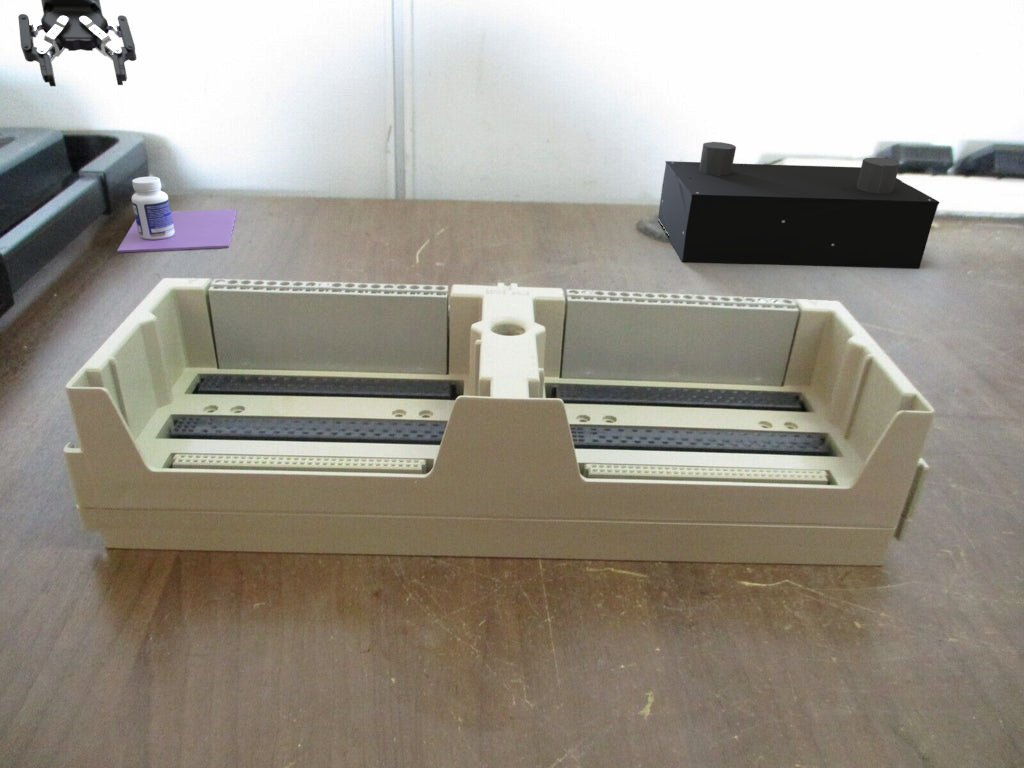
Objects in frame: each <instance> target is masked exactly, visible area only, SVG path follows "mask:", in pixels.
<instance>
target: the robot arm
mask: <svg viewBox="0 0 1024 768" xmlns="http://www.w3.org/2000/svg"><path fill="white" fill-rule="evenodd" d="M40 1H41V6H42V13H43V16H42V17H41V19H34V18H29V16H28V15H27V14H26V13H21V14H19V15H18V18H17V19H18V29H19V38H20V39H19V40H20V41H19V42H20V47H21V50H22V53H23V57H24V59H25V61H27V62H30V63H31V62H32V63H33V62H37V63H38V64H39V69H40V73H41V74H40V75H41V77H42V80H43V82H44V83H48V84H49V87H57V83H56V79H55V78H56V77H55V74H54V68H53V67H54V66H53V63H52V62H53V61H54V60H55V58H56V57H57V58H58V57H60V55H61V54H62V53H63V52H64V51H65V50H68V52H75V51H79V50H80V51H86V52H87V51H88V52H90V51H91V52H93V51H94V49H96V51H98V52H99V53H100V54H102V56H104V57H108V58H109V59H110V60H111V61H112V63H113V69H114V74H115V77H116V83H117V86H124V82H127V80H128V75H127V70H126V65H125V63H126V62H127V61H131V62H134V61H136V60H137V54H136V45H135V42H134V38H133V35H132V32H131V29H130V25H129V22H128V19H127V16H125V15H118V16H117V19H110V20H108V19H106V18H105V17H104V15H103V11H102V5H101V1H100V0H40ZM40 31H43V32H44V33H45V35H44V37H43V41H41V43H40V44H39V45H38V46H35V45H34V38H37V36H38V35H39V32H40ZM109 31H112V32H114V34H115V35H116V36H117V37H118V38H121V40H122V44H123V46H119V45H118V44H117V43H115V42H114V41H113V40H112V38H111V37H110V35H109Z"/></svg>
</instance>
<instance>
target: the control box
mask: <svg viewBox="0 0 1024 768" xmlns="http://www.w3.org/2000/svg"><path fill="white" fill-rule="evenodd" d="M701 149H702V150H701V156H700V161H699V162H698V161H673V160H671V161H670V160H665V168H664V173H663V179H662V186H661V192H660V193H661V194H660V201H659V208H658V214H657V215H658V216H657V219H658V218H659V219H660V221H661V223H662V224H663V226H664V227H665V229H666V231H667V232H668V234H669V238H670V239H669V238H668V239H669V241H670V244H671V246H672V248H673V249H674V251H675V253H676V254H677V256H678V258H679V259H680V261H681V263H708V264H709V263H713V264H746V265H747V264H749V265H751V264H753V265H757V264H758V265H787V266H788V265H789V266H819V267H849V268H850V267H851V268H885V269H887V268H889V269H920V268H921V264H922V261H923V258H924V257H923V256H924V254H925V250H926V246H927V243H928V241H929V237H930V233H931V229H932V225H933V222H934V219H935V216H936V213H937V210H938V206H939V204H940V201H939V200H937V199H935V198H933V197H932V196H930V195H928V194H926V193H925V192H922V191H921V190H919V189H917V188H915V187H913V186H912V185H910V184H907V183H906V182H903V181H902V180H901V179H899V178H897V175H898V172H899V168H900V164H901V163H900V162H899V161H897V160H894V159H889V158H883V157H865V158H863V159H862V162H861V167H860V166H834V165H833V166H830V165H827V166H826V165H798V164H797V165H795V164H764V163H762V164H761V163H736V162H735V163H734V160H735V156H736V150H737V147H736V145H734V144H733V143H727V142H721V141H708V142H704V143H703V144H702V148H701Z"/></svg>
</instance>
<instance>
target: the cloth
mask: <svg viewBox="0 0 1024 768" xmlns="http://www.w3.org/2000/svg"><path fill="white" fill-rule="evenodd" d="M236 210H237V211H238V209H237V208H227V209H225V208H224V209H204V210H203V209H200V210H198V209H197V210H175V211H174V210H173V211H171V215H172V220H173V225H174V230H175V233H174V235H172V236H171V237H168V238H164V239H158V240H148V239H143V238H141V237H140V236H139V232H138V228H137V223H136V219H135V220H134V221H133V223H132V225H131V226H130V228H129V230H128V232H127V233H126V235H125V237H123V240H122V241H121V243H120V245H119V246H118V248H117V250H116V252H117V254H124V253H143V252H165V251H168V252H169V251H186V250H187V251H188V250H208V249H209V250H210V249H229V247H230V243H231V239H232V234H233V231H232V230H234V226H235V222H236V217H237V213H236ZM235 216H236V217H235ZM234 221H235V222H234Z"/></svg>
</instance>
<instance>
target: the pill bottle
mask: <svg viewBox="0 0 1024 768" xmlns="http://www.w3.org/2000/svg"><path fill="white" fill-rule="evenodd" d="M131 183H132V188H133V190H134V191H135V193H133V194H132V196H131V205H132V209H133V213H134V217H135V220H136V223H137V228H138V232H139V236H140V237H141V238H143V239H148V240H158V239H164V238H168V237H171V236H172V235H174V233H175V230H174V225H173V220H172V215H171V204H170V200H169V195H168V193H166V192H165V191H162V190H161V189H162V182H161V178H160V177H157V176H139V177H136V178H134V179H132V180H131Z"/></svg>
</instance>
